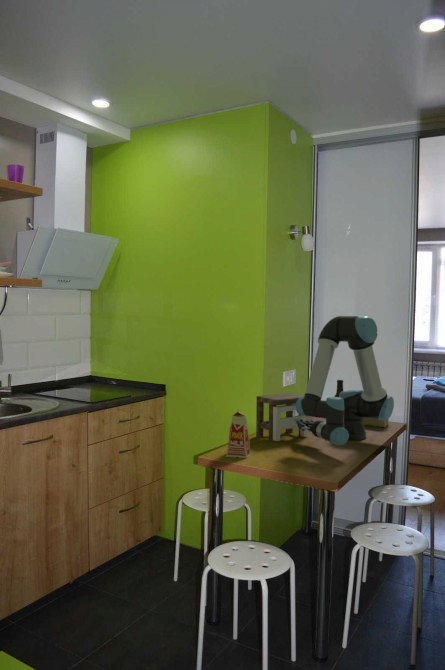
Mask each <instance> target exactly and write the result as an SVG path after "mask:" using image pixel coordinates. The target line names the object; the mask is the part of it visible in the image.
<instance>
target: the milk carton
mask: <svg viewBox="0 0 445 670" xmlns="http://www.w3.org/2000/svg"><path fill="white" fill-rule="evenodd" d="M228 433H229V434H228V443H227V444H228V445H227V450H226V455H225V457H226V458H236V457H239V458H240V459H248V458H249V457H250V455H251V445H250V437H249V427H248V421H247V417H246V416H245V414H243V413H241V410H240V409H239V408H237V412H235V413H234V414H233V415H232V416H231V420H230V426H229V431H228Z"/></svg>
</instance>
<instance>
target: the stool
mask: <svg viewBox="0 0 445 670" xmlns="http://www.w3.org/2000/svg"><path fill="white" fill-rule="evenodd" d="M304 395H305V394H298V393H294V392H293V393H292V392H287V393H286V392H285V393H277V394H266V395H265V394H264V395H257V396H256V410H255V411H256V412H255V413H256V416H255V417H256V418H255V420H256V423H255V425H256V426H255V427H256V429H255V431H256V433H255V435H256V438H264V430H267V431H268V441H269V442H274V441H273V407H275V406H284V405H292V404H295V403H296V402H297V401H298V399H299V398H304ZM265 404H267V405H268V420H264V413H265V412H264V410H265ZM299 416H300V414H299ZM287 417H293V411H286V412H285V418H287ZM293 430H294V428H291V429H285V433H286V434H287V433H288V434H293V432H294V431H293ZM298 436H300V428H299V427H298ZM300 437H301V436H300Z"/></svg>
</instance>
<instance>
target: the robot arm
mask: <svg viewBox="0 0 445 670" xmlns="http://www.w3.org/2000/svg"><path fill="white" fill-rule="evenodd" d="M377 338H378V326H377V323H376V321H375V320H374V319H373V318H372V317H370V316H365V315H338V316H335V317H333V318H331V319H330V320H329V321H328V322H327V323H326V324H325V325H324V326H323V328H322V329H321V331H320V333H319V335H318V338H317V343H318V345H317V350H316V353H315V356H314V361H313V363H312V368H311V372H310V374H309V379H308V381H307V385H306V389H305V392H304V394H303V395H304V398H299V399H298V401H297V402H296V411H297V413H298V414H300V415H305V416H308V417H313V418H319V419H320V420H316V421H315V420H309V419H308V420H307V421H305V420H303V419H300V418H295V424H297V425H298V429H299V428H300V429H302V431H304V430H306V429H307V430H308V431H309V432H311V434H312V435H313V436H314V437H316V438H319V439H322V440H324V442H329V443H331V444H333V445H337V446H343V445H346V443H348V440H349V441H358V440H360V441H361V440H365V439H367V432H366V428H365V425H364V424H363V417H364V418H371V419H378V420H387V419H390V418H391V416H392V415H393V411H394V408H395V407H394V406H395V401H394V397H393V396H391V395H388V393H387V390H386V389H385V387H383V385H382V382H381V378H380V373H379V368H378V364H377V362H376V356H375V353H374V348H373V345H374V344H375V341H376V340H377ZM341 342H347V345H348V348H349V349H350V350H352V352H353V355H354V358H355V363H356V367H357V370H358V374H359V379H360V383H361V386H362V389H351V390H349V389H348V390H343V391H342V392H340V394H339V397H334V396H328V397H326V399H325V400H322V398H323V393H324V390H325V388H326V387H325V386H326V383H327V380H328V376H329V371H330V369H331V368H330V367H331V365H332V361H333V357H334V354H335V352H336V351H335V350H336V349H338V347H339V345H340V343H341ZM321 419H325V421H323V420H321Z"/></svg>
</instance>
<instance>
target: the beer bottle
mask: <svg viewBox="0 0 445 670" xmlns="http://www.w3.org/2000/svg"><path fill="white" fill-rule="evenodd" d="M342 391H344V380H343V379H337V380H336V392H335V395H334V396H333V397H339V394H340V392H342Z"/></svg>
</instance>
